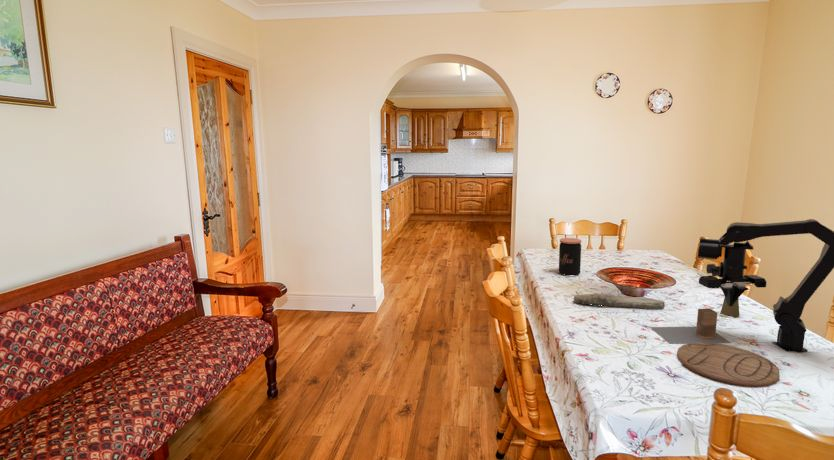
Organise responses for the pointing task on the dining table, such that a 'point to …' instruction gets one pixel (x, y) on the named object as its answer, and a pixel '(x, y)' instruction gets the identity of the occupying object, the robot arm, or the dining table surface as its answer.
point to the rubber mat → (685, 335)
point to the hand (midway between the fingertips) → (729, 306)
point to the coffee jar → (570, 256)
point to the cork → (730, 309)
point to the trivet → (728, 364)
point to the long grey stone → (619, 301)
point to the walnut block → (706, 323)
